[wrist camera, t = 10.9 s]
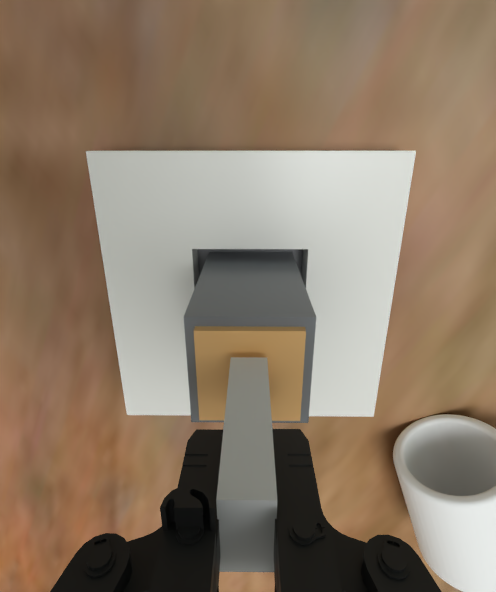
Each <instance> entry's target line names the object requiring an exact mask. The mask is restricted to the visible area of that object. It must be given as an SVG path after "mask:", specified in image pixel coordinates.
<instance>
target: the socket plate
mask: <svg viewBox="0 0 496 592" xmlns="http://www.w3.org/2000/svg"><path fill="white" fill-rule="evenodd" d="M415 154H416V151H408V150H100V151H86V155H87V162H88V168H89V175H90V181H91V187H92V194H93V200H94V207H95V213H96V219H97V226H98V232H99V239H100V245H101V251H102V258H103V264H104V271H105V277H106V284H107V290H108V296H109V303H110V309H111V316H112V322H113V328H114V335H115V341H116V348H117V354H118V360H119V367H120V373H121V380H122V386H123V392H124V399H125V405H126V412H127V415H191V409H190V396H189V383H188V369H187V356H186V342H185V329H184V314H185V312H186V309H187V307H188V304H189V302H190V299H191V297H192V294H193V292H194V289H195V287H196V284H197V282H198V279H199V277H200V274H201V272H202V269H203V266H204V264H205V261H206V259H207V256H208V254H209V252H292V253H293V256H294V258H295V261H296V264H297V266H298V269H299V272H300V275H301V277H302V280H303V283H304V285H305V288H306V291H307V293H308V296H309V299H310V301H311V304H312V307H313V309H314V312H315V315H316V328H315V341H314V354H313V367H312V380H311V393H310V406H309V416H369V417H374V410H375V404H376V398H377V392H378V385H379V379H380V373H381V367H382V360H383V354H384V348H385V342H386V335H387V329H388V323H389V317H390V310H391V304H392V298H393V292H394V285H395V279H396V273H397V267H398V260H399V254H400V248H401V242H402V236H403V229H404V223H405V217H406V211H407V204H408V198H409V192H410V186H411V179H412V173H413V167H414V161H415Z"/></svg>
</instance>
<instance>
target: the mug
mask: <svg viewBox="0 0 496 592" xmlns="http://www.w3.org/2000/svg"><path fill="white" fill-rule="evenodd" d="M393 461H394V465H395V468H396V472H397V475H398V479H399V482H400V485H401V489H402V492H403V495H404V499H405V502H406V505H407V509H408V512H409V515H410V519H411V522H412V525H413V529H414V532H415V535H416V539H417V542H418V545H419V549H420V551H421V553H422V555H423V557H424V559H425V561H426V562H427V563H428V565H429V566H430V567H431V569H432V570H433V571H434V572H435V573H436V574H437V575H438V576H439V577H440V578H441V579H443V580H444V581H445V582H447V583H448V584H450V585H451V586H453V587H455V588H457V589H459V590H461V591H463V592H496V429H495V428H494V427H492V426H490V425H489V424H487V423H485V422H482V421H480V420H477V419H474V418H471V417H467V416H462V415H453V414H442V415H434V416H429V417H425V418H422V419H420V420H417V421H415V422H414V423H412V424H410V425H409V426H408V427H406V428H405V429H404V430H403V431H402V432H401V433H400V435H399V436H398V438H397V440H396V442H395V445H394V449H393Z"/></svg>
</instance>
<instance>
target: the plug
mask: <svg viewBox="0 0 496 592" xmlns="http://www.w3.org/2000/svg"><path fill="white" fill-rule="evenodd" d="M315 328H316V315H315V312H314V309H313V307H312V304H311V301H310V299H309V296H308V293H307V291H306V288H305V285H304V283H303V280H302V277H301V275H300V272H299V269H298V266H297V264H296V261H295V258H294V256H293V253H292V252H209V254H208V256H207V259H206V261H205V264H204V266H203V269H202V272H201V274H200V277H199V279H198V282H197V284H196V287H195V289H194V292H193V294H192V297H191V299H190V302H189V304H188V307H187V309H186V312H185V314H184V329H185V342H186V356H187V369H188V383H189V396H190V409H191V422H224V419H225V409H226V399H227V389H228V379H229V369H230V359H231V357H267V361H268V375H269V389H270V403H271V417H272V423H308V419H309V406H310V393H311V380H312V367H313V354H314V341H315Z"/></svg>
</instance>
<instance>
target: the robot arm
mask: <svg viewBox="0 0 496 592" xmlns="http://www.w3.org/2000/svg"><path fill="white" fill-rule="evenodd" d="M160 511H161V519H162V527H161V528H159V529H158V530H156V531H155V532H153V533H151V534H149V535H147V536H144V537H141V538H138V539H135V540H131V541H128V542H126V540H125V539H124V538H123V537H121V536H119V535H117V534H110V533H105V534H102V535H99V536H96V537H94V538H92V539H91V540H89V541H88V542H86V543H85V544H84V545H83V546H82V547H81V548H80V549H79V550H78V552H77V553H76V554H75V555H74V557H73V558H72V560H71V561H70V563H69V564H68V566H67V567H66V569H65V570H64V572H63V573H62V575H61V576H60V578H59V579H58V581H57V582H56V584H55V585H54V587H53V588H52V590H51V591H50V592H219V586H218V583H219V570H220V572H274V574H275V592H441V590H440V589H439V587H438V586H437V584H436V583H435V581H434V579H433V578H432V576H431V575H430V573H429V572H428V570H427V568H426V567H425V565H424V564H423V562H422V561H421V559H420V557H419V556H418V555H417V553H416V552H415V551H414V550H413V549H412V548H411V546H410V545H408V544H407V543H405V542H404V541H402V540H401V539H399V538H396V537H393V536H390V535H377V536H375V537H373V538H371V539H369V541H368V542H367V543H365V542H362V541H359V540H356V539H354V538H351V537H348V536H346V535H343V534H341V533H340V532H338V531H337V530H335V529H334V528H333V527H332V526H331V525H330V524H329V523H328V522H327V520H326V518H325V517H324V515H323V512H322V509H321V504H320V499H319V494H318V489H317V483H316V478H315V473H314V468H313V462H312V457H311V452H310V447H309V441H308V439H307V438H306V437H305V435H304V434H303V433H302V431H301V430H300V429H272V417H271V403H270V389H269V375H268V361H267V357H231V359H230V369H229V379H228V389H227V399H226V409H225V419H224V428H223V430H196V431H195V432H194V433H193V435H192V436H191V437H190V439H189V440H188V442H187V447H186V452H185V457H184V461H183V467H182V470H181V475H180V479H179V484H178V488H177V489H175V490H173V491H171V492H170V493H169V494H168V495H167V496H166V497H165V498H164V500H163V502H162V505H161V507H160Z"/></svg>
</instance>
